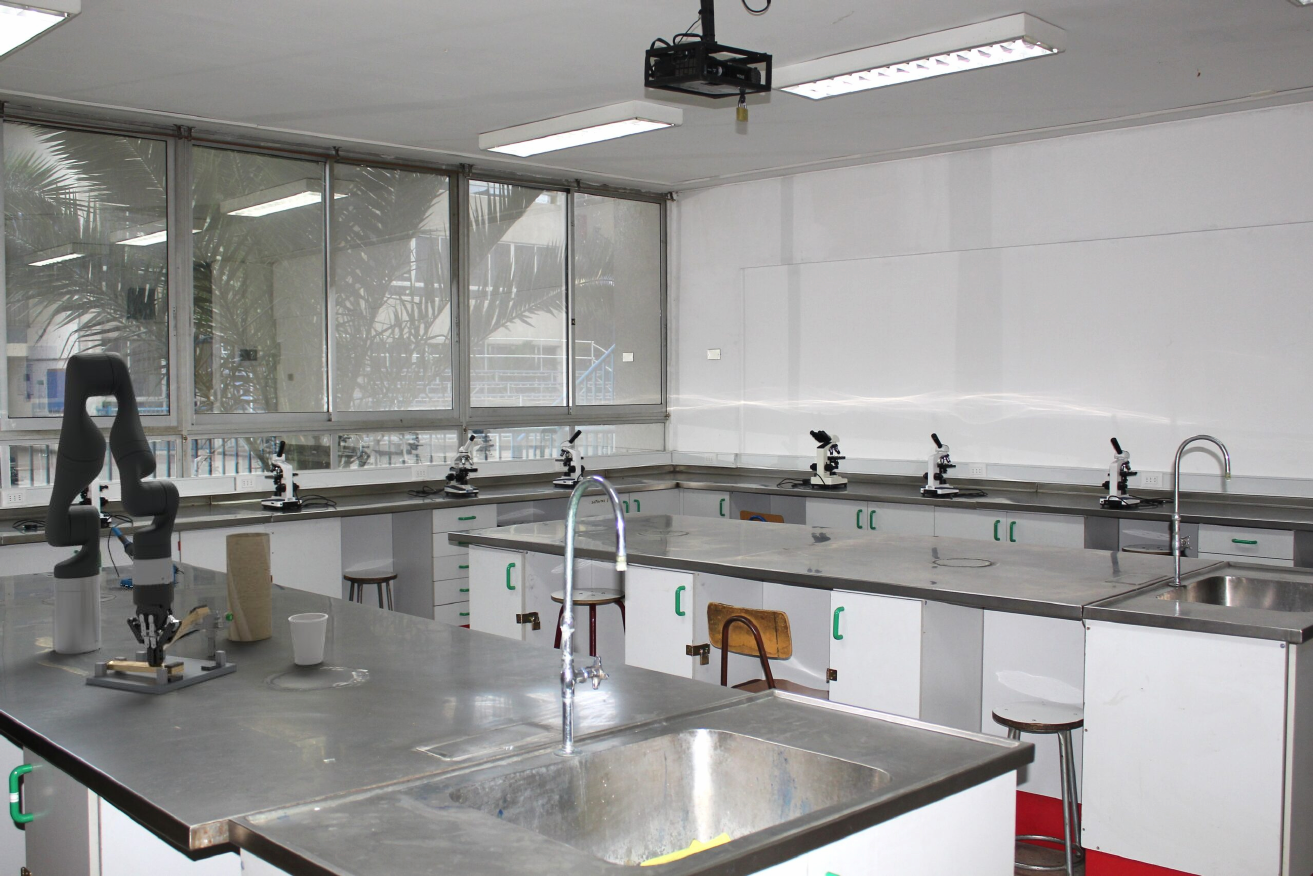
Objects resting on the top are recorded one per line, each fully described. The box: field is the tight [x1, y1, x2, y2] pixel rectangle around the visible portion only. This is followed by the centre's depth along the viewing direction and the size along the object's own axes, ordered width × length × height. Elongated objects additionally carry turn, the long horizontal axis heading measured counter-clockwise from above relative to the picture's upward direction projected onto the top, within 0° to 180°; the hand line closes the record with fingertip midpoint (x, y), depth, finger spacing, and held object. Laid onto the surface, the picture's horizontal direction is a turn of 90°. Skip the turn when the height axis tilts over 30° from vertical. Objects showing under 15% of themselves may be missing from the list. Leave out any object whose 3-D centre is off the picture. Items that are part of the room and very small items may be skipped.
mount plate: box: [85, 648, 237, 695], centre depth 218 cm, size 20×20×4 cm
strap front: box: [106, 659, 184, 674], centre depth 213 cm, size 19×3×2 cm, turn 68°
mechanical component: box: [188, 610, 233, 657], centre depth 236 cm, size 3×10×10 cm, turn 79°
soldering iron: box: [107, 526, 185, 587], centre depth 338 cm, size 35×31×18 cm
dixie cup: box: [287, 612, 329, 666], centre depth 231 cm, size 8×8×10 cm
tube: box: [225, 532, 273, 642], centre depth 255 cm, size 10×10×25 cm
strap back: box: [145, 604, 211, 652], centre depth 223 cm, size 19×3×2 cm
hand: (155, 665), depth 212 cm, fingers closed
